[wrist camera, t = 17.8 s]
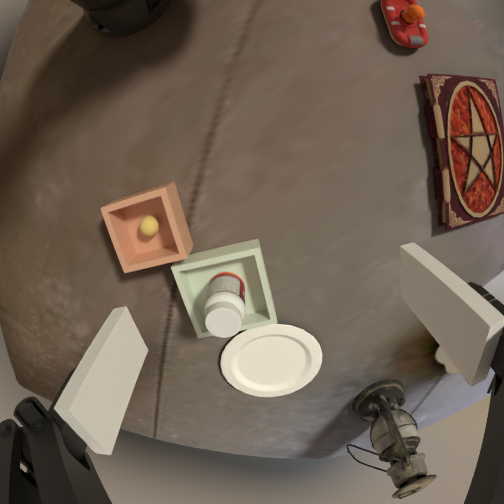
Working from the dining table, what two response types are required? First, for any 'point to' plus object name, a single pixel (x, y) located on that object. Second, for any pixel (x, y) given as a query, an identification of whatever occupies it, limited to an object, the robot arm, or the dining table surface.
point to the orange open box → (148, 247)
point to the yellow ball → (149, 226)
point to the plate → (271, 360)
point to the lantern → (393, 436)
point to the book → (465, 147)
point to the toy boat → (405, 22)
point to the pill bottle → (225, 304)
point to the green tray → (234, 260)
